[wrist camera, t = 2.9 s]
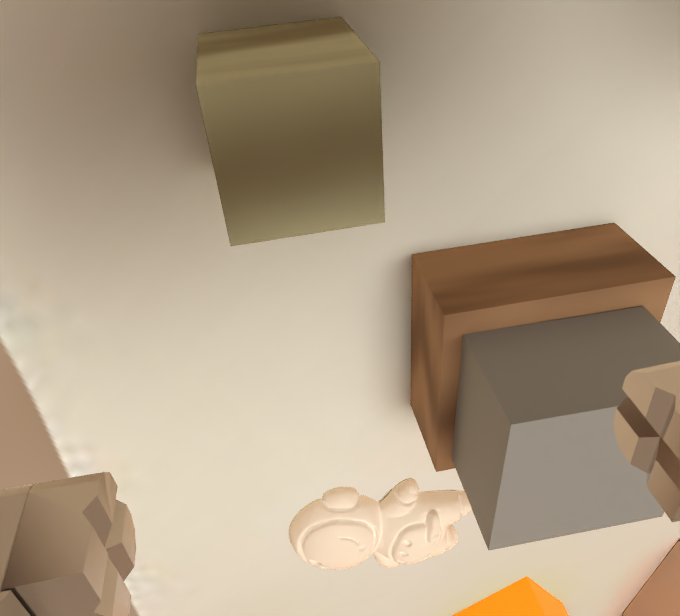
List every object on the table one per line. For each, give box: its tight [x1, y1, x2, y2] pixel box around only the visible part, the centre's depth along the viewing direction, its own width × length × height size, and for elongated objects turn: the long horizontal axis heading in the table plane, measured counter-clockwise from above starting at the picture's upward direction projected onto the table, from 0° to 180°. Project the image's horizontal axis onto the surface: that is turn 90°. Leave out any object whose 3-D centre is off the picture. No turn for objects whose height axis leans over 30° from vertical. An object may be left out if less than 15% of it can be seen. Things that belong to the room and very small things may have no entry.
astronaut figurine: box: [290, 479, 472, 570], centre depth 39 cm, size 9×12×3 cm
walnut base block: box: [411, 223, 675, 472], centre depth 29 cm, size 10×10×5 cm
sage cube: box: [196, 17, 385, 246], centre depth 20 cm, size 5×5×6 cm
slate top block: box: [452, 306, 680, 550], centre depth 26 cm, size 8×8×5 cm
